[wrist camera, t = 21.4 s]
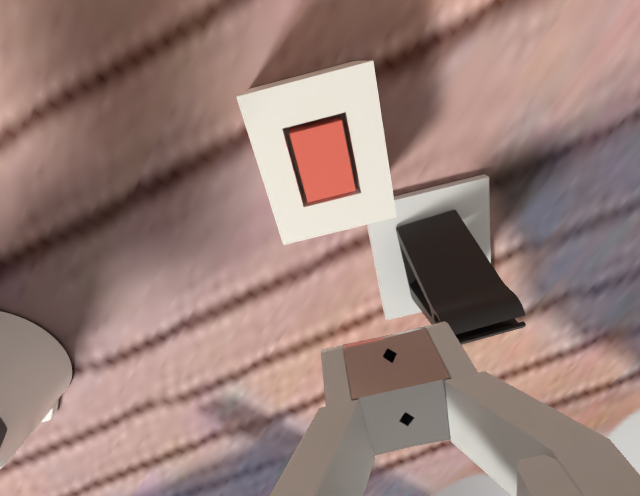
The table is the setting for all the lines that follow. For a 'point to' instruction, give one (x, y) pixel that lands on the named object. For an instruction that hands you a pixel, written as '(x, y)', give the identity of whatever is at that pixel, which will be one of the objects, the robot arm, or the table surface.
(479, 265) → the phone stand
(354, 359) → the robot arm
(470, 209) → the grey mat
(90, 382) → the table surface
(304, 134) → the button
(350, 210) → the box
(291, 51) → the table surface
